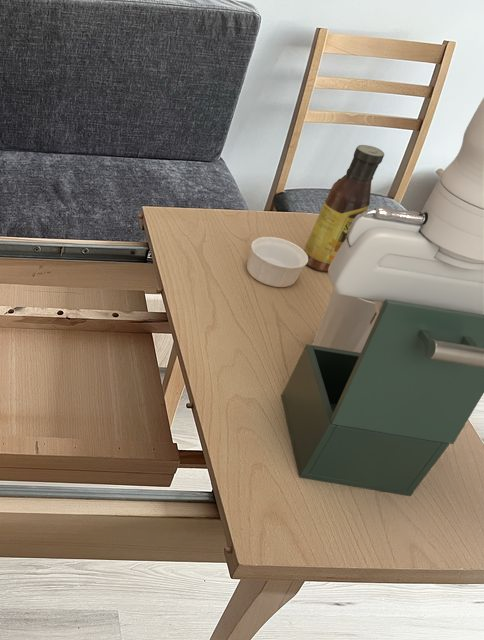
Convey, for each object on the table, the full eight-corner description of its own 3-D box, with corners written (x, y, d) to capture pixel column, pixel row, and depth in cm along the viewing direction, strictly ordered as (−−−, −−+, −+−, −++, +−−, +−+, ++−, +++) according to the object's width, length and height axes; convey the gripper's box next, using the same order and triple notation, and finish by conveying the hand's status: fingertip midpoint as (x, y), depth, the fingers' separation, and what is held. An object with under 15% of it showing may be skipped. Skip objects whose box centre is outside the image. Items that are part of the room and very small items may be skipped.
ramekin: (276, 255, 116) (285, 233, 113) (310, 286, 110) (320, 263, 107) (232, 262, 113) (240, 239, 110) (264, 293, 107) (274, 270, 104)
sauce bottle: (329, 278, 112) (383, 164, 99) (293, 261, 115) (341, 148, 102) (344, 264, 116) (398, 152, 103) (310, 248, 119) (358, 137, 106)
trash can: (280, 395, 89) (306, 343, 83) (379, 411, 89) (411, 360, 83) (299, 477, 79) (329, 424, 73) (410, 496, 78) (449, 444, 73)
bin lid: (385, 298, 65) (402, 324, 61) (520, 320, 65) (547, 347, 61) (329, 419, 73) (342, 448, 69) (450, 439, 73) (469, 470, 69)
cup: (357, 383, 92) (398, 312, 85) (298, 360, 95) (332, 289, 87) (366, 351, 98) (405, 282, 90) (310, 330, 101) (343, 261, 93)
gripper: (370, 220, 62) (311, 338, 71) (602, 256, 61) (514, 371, 70) (353, 188, 67) (301, 302, 76) (569, 221, 66) (490, 333, 75)
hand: (405, 336), depth 73 cm, fingers closed on chocolate bar, 4 cm apart
